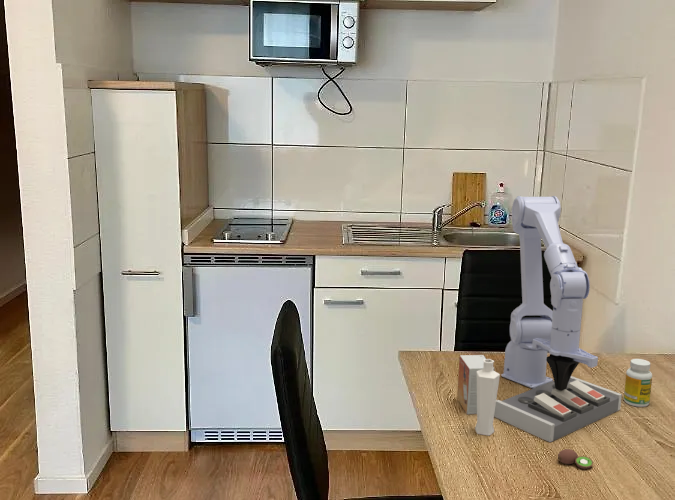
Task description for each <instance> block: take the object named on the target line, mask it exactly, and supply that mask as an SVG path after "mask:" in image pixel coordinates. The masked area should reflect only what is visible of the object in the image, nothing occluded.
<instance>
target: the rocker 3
mask: <svg viewBox="0 0 675 500" xmlns="http://www.w3.org/2000/svg"><path fill="white" fill-rule="evenodd" d="M568 387H569V388H570V389H572V390H574V391H575V392H577V393H579V394H580V395H582V396H584V397H586V398H588V399H591V400H594V401H596V402H599V401H601V400H603V399H604V398H605V396H604V395H602V394H600V393H599V392H597V391H595V390H594V389H592V388H590V387H588V386H587V385H585V384H583V383H582V382H580V381H578V380H576V381H573V382H571V383H569V385H568Z"/></svg>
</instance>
